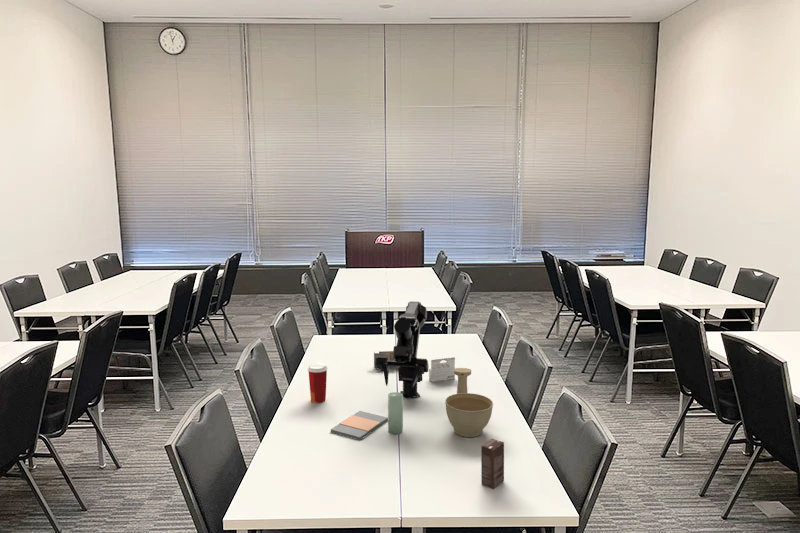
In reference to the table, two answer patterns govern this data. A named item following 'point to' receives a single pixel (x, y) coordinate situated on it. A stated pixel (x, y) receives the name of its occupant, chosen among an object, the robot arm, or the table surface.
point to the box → (492, 463)
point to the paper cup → (317, 382)
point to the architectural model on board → (386, 354)
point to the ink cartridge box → (442, 369)
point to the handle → (462, 379)
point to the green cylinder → (395, 413)
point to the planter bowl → (468, 413)
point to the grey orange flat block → (359, 425)
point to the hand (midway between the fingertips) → (399, 386)
